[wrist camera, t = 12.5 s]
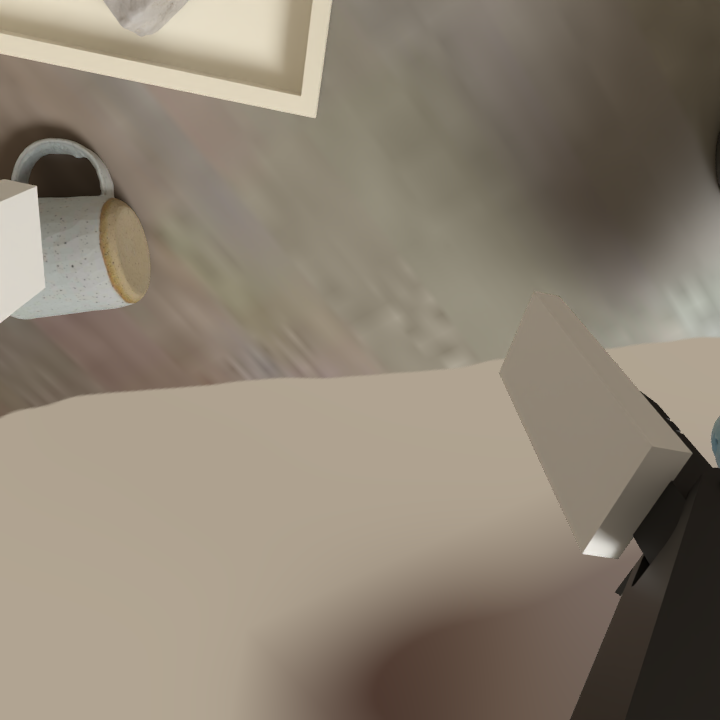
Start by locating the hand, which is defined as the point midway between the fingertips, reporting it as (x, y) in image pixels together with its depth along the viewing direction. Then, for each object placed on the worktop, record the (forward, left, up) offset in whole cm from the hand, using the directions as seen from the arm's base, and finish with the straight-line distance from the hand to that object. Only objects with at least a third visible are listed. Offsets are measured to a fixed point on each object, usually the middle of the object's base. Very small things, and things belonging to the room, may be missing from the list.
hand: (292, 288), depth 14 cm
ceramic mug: (+15, +8, -25) cm, 30 cm away
